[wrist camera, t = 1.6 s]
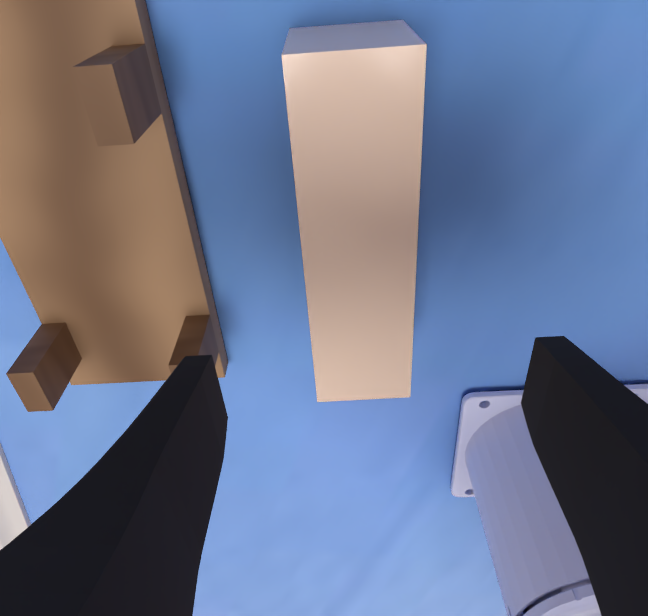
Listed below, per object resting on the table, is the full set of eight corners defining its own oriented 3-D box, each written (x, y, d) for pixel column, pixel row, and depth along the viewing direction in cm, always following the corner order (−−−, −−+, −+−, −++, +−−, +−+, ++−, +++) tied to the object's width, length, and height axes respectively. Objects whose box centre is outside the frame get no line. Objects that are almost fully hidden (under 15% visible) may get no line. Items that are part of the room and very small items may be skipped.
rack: (140, -19, 15) (92, -7, 12) (228, 362, 24) (213, 428, 21) (-91, -2, 15) (-200, 15, 12) (79, 369, 24) (42, 437, 21)
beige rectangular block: (401, 18, 16) (426, 44, 12) (395, 323, 23) (410, 397, 19) (289, 27, 16) (281, 54, 13) (317, 328, 23) (317, 402, 20)
